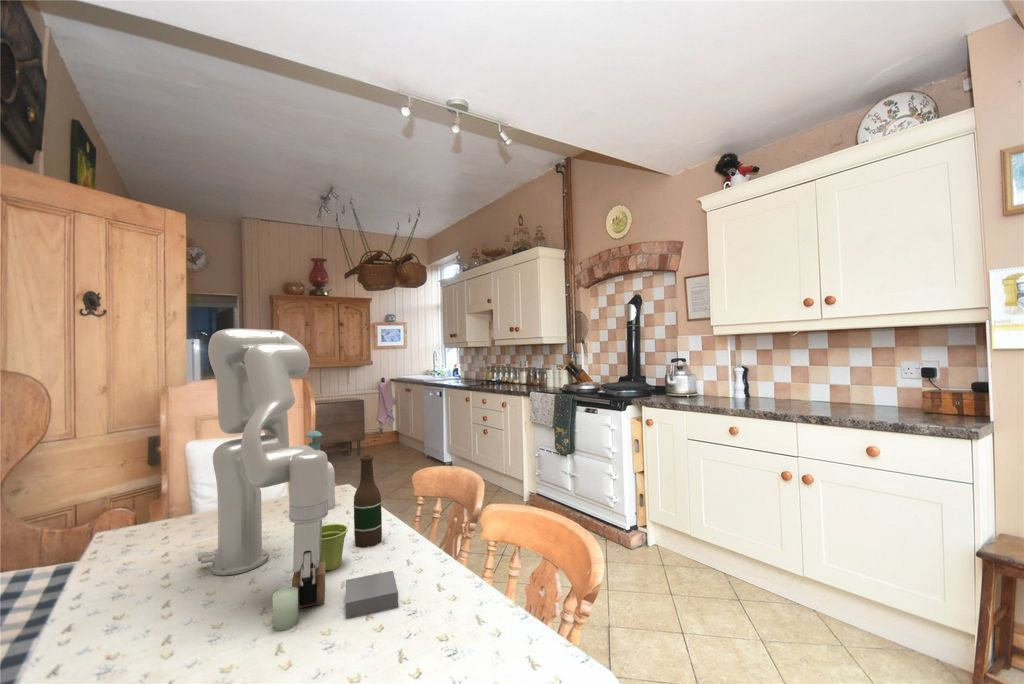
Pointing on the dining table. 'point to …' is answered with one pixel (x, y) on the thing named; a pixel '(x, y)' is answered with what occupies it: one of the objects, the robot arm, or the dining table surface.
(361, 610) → the plinth
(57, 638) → the dining table surface
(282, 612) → the tin
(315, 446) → the soap bottle
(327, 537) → the plant pot
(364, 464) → the beer bottle
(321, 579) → the cube
